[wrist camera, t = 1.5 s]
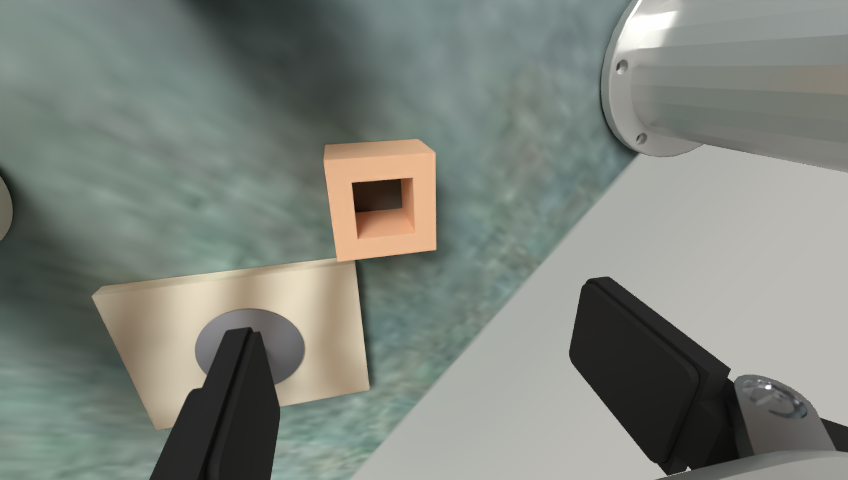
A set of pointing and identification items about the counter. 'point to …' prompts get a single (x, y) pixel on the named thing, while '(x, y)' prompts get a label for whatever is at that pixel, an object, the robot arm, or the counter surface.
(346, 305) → the post stand
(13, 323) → the counter surface
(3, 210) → the travel mug
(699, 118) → the robot arm
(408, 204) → the ring
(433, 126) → the counter surface
